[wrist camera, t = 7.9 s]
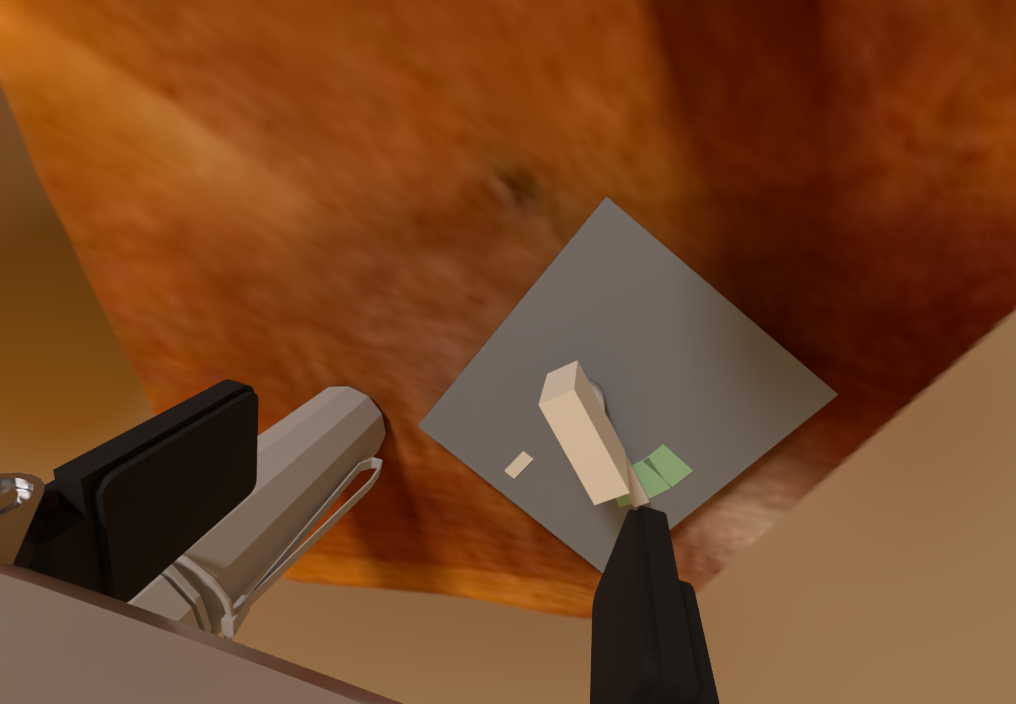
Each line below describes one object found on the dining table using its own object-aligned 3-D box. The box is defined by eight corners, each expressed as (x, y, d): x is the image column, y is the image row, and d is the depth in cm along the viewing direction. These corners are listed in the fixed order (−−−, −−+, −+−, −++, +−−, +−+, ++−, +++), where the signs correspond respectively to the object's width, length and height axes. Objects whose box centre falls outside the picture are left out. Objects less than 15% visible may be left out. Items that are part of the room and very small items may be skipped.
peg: (549, 360, 34) (536, 405, 26) (580, 345, 33) (575, 388, 25) (625, 499, 36) (633, 578, 28) (655, 489, 35) (671, 567, 28)
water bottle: (311, 448, 43) (-32, 746, 19) (313, 370, 40) (-79, 604, 17) (406, 473, 42) (164, 819, 18) (415, 394, 39) (147, 679, 16)
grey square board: (605, 197, 32) (606, 196, 30) (821, 380, 33) (839, 395, 31) (428, 413, 40) (417, 426, 37) (608, 556, 41) (609, 579, 38)
